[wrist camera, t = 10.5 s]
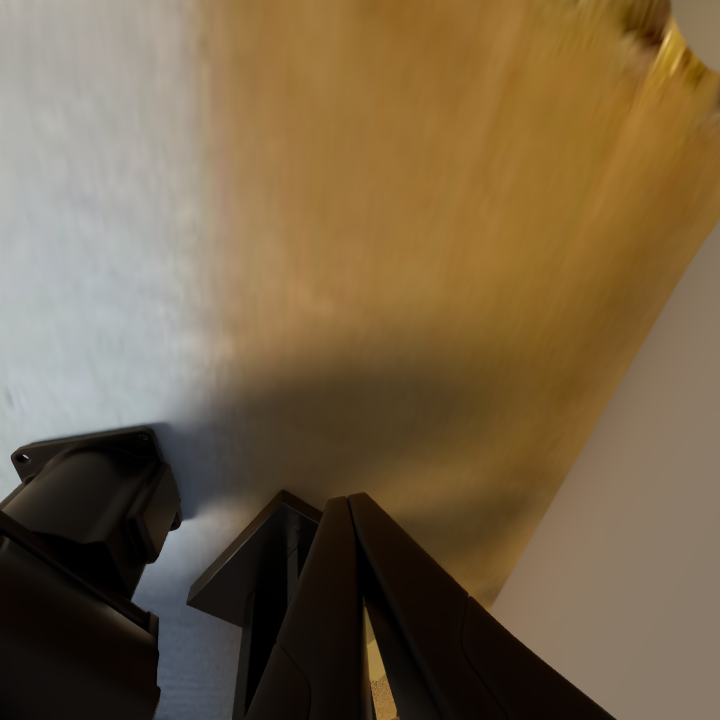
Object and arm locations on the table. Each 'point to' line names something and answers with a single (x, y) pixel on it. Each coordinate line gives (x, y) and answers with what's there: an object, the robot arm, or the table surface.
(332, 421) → the table surface
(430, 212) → the table surface
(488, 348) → the table surface
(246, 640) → the slicer
